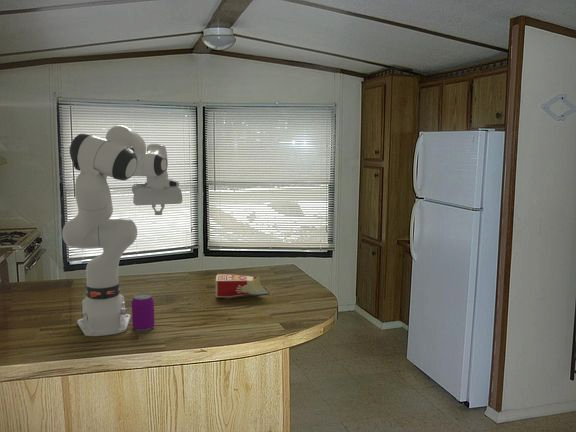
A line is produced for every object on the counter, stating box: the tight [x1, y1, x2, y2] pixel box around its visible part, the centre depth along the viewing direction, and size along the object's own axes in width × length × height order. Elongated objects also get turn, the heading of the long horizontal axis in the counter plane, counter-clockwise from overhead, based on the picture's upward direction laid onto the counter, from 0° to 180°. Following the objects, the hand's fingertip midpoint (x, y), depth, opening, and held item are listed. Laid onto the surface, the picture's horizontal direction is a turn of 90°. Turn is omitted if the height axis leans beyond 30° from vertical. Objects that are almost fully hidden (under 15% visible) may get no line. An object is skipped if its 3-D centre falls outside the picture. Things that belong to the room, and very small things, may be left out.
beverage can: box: [131, 292, 155, 332], centre depth 189 cm, size 8×8×12 cm
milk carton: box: [215, 273, 263, 298], centre depth 227 cm, size 9×9×20 cm
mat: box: [223, 285, 270, 299], centre depth 235 cm, size 16×20×1 cm
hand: (158, 214), depth 223 cm, fingers closed
